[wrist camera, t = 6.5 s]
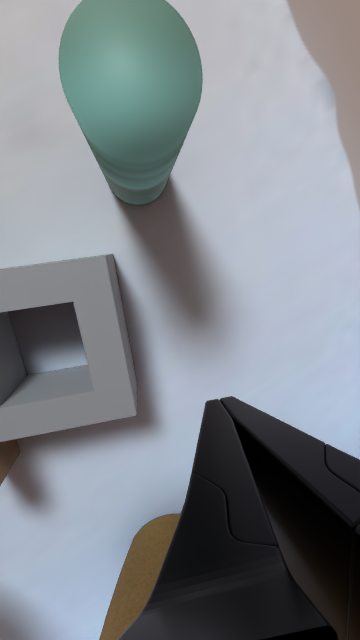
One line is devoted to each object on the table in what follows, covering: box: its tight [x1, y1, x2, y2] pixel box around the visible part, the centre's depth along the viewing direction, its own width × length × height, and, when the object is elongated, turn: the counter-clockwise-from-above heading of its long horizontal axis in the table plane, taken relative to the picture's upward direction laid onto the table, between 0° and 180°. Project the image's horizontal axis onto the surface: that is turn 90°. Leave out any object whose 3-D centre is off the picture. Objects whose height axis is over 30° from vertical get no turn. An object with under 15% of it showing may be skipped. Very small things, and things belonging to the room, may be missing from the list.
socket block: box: [0, 254, 137, 442], centre depth 18 cm, size 10×10×4 cm
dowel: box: [59, 0, 202, 206], centre depth 13 cm, size 4×4×11 cm
